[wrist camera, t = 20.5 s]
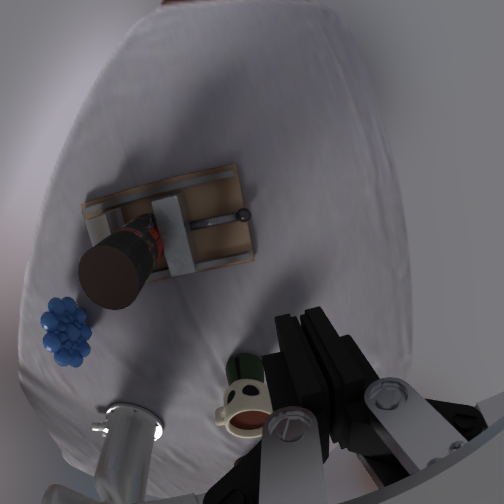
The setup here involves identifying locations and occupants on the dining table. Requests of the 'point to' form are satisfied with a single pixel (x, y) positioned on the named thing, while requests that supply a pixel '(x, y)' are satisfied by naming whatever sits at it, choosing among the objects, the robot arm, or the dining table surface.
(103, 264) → the deodorant
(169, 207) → the sliding jaw
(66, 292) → the dining table surface
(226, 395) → the character mug
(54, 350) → the grapes
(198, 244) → the vise bed
